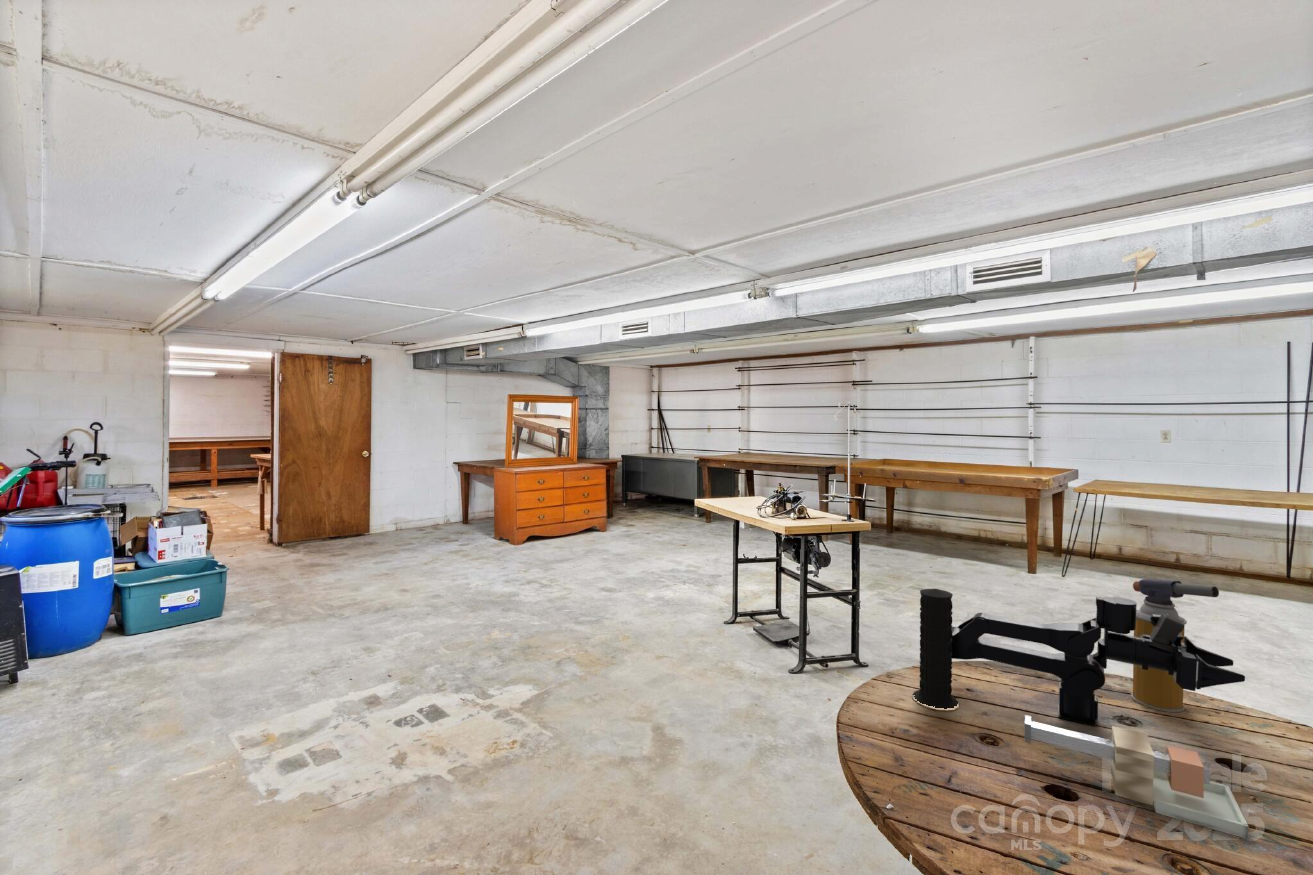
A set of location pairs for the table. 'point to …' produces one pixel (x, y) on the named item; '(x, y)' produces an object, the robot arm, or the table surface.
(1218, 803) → the tray
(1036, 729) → the shaft
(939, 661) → the handle grip
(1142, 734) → the pillow block
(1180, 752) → the collar
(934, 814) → the table surface
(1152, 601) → the blowtorch
